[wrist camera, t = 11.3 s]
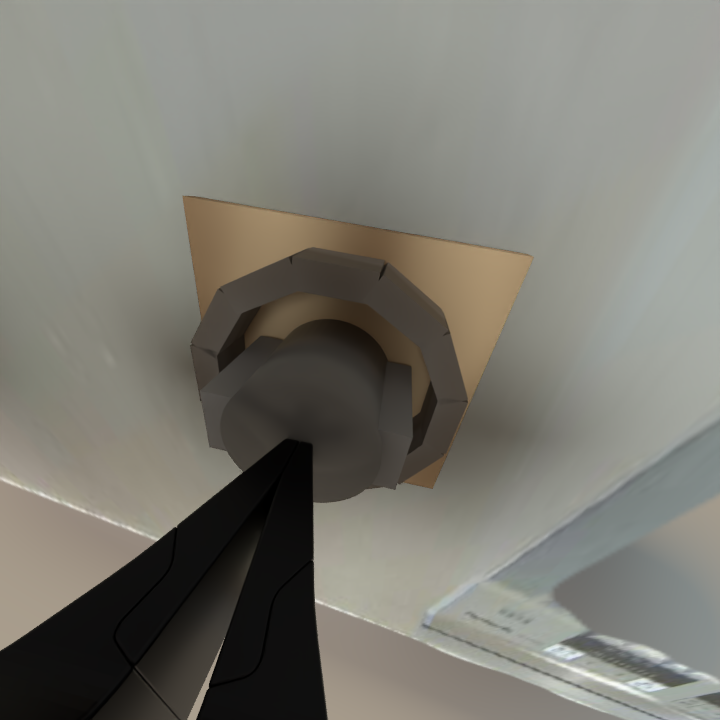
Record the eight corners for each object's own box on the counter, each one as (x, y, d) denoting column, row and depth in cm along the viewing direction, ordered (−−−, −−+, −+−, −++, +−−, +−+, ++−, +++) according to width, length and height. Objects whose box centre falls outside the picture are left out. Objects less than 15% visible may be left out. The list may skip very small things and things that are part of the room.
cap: (265, 401, 14) (208, 478, 10) (262, 304, 11) (185, 358, 7) (392, 429, 13) (386, 521, 10) (419, 335, 11) (425, 409, 7)
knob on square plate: (225, 433, 16) (196, 470, 14) (194, 196, 10) (133, 194, 8) (431, 479, 16) (435, 525, 13) (527, 253, 10) (563, 270, 7)
